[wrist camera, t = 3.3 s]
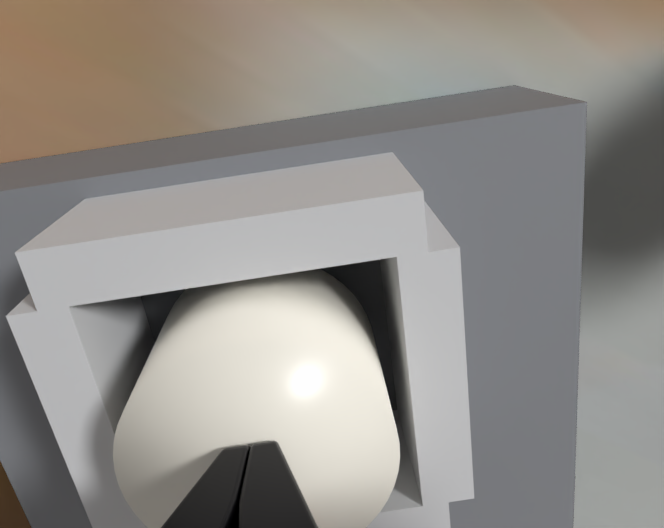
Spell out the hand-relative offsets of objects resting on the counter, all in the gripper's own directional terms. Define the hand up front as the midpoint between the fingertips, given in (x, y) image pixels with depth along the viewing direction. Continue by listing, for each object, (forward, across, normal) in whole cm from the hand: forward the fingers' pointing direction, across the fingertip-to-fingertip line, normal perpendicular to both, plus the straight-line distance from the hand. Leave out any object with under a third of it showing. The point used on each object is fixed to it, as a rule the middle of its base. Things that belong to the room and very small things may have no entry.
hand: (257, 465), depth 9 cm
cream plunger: (+3, 0, 0) cm, 3 cm away
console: (+8, 0, +8) cm, 11 cm away
